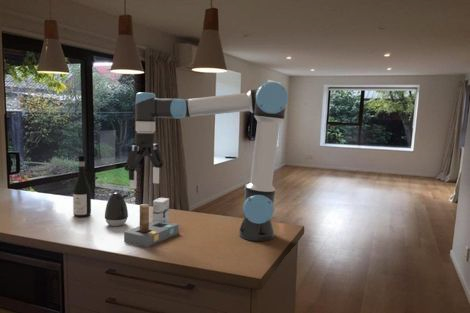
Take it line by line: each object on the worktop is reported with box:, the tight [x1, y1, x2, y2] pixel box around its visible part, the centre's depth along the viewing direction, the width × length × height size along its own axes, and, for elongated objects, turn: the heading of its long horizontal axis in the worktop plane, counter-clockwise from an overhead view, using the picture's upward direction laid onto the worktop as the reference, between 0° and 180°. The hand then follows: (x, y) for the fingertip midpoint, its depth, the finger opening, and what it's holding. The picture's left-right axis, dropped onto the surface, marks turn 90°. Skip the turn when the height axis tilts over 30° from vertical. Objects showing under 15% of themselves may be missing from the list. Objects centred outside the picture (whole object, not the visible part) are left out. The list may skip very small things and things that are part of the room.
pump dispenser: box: [104, 191, 129, 227], centre depth 170 cm, size 10×10×15 cm
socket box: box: [123, 220, 179, 248], centre depth 154 cm, size 12×20×4 cm, turn 153°
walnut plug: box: [139, 203, 150, 234], centre depth 149 cm, size 4×4×14 cm
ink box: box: [152, 197, 170, 223], centre depth 173 cm, size 8×5×12 cm, turn 168°
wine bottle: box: [72, 154, 92, 218], centre depth 182 cm, size 8×8×30 cm
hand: (145, 185), depth 148 cm, fingers open, 13 cm apart
